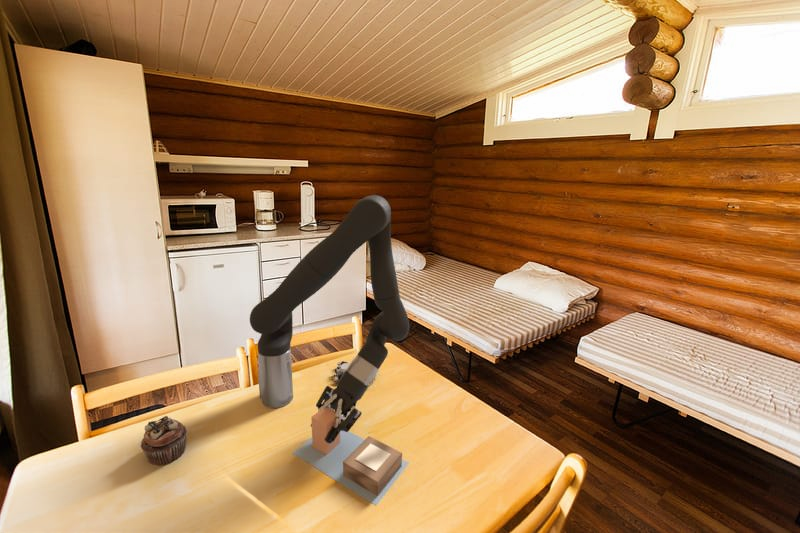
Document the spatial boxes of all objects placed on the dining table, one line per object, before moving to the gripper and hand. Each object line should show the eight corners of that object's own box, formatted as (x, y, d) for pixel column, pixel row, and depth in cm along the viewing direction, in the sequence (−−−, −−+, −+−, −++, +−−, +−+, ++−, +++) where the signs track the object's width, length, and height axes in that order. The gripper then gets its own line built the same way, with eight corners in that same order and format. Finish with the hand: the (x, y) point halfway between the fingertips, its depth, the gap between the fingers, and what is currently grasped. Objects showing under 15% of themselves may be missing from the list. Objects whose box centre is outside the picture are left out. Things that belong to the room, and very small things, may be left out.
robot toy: (332, 388, 120) (378, 386, 121) (331, 376, 119) (377, 374, 119) (338, 368, 132) (379, 366, 132) (336, 357, 131) (378, 355, 131)
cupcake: (197, 448, 92) (193, 414, 90) (158, 475, 84) (151, 439, 81) (175, 434, 97) (170, 402, 94) (135, 459, 88) (128, 424, 86)
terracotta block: (312, 446, 94) (311, 416, 91) (326, 434, 98) (325, 406, 95) (326, 454, 91) (326, 424, 89) (340, 442, 95) (339, 413, 93)
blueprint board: (292, 455, 91) (292, 453, 91) (330, 423, 103) (330, 421, 103) (376, 507, 78) (376, 505, 78) (409, 464, 90) (409, 462, 90)
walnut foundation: (343, 475, 85) (343, 460, 84) (368, 448, 93) (368, 435, 92) (377, 496, 80) (378, 481, 79) (401, 466, 88) (402, 452, 87)
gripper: (334, 360, 99) (296, 415, 95) (366, 384, 89) (326, 447, 85) (350, 370, 104) (315, 423, 100) (382, 394, 94) (345, 454, 90)
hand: (320, 434), depth 92 cm, fingers closed on terracotta block, 6 cm apart
